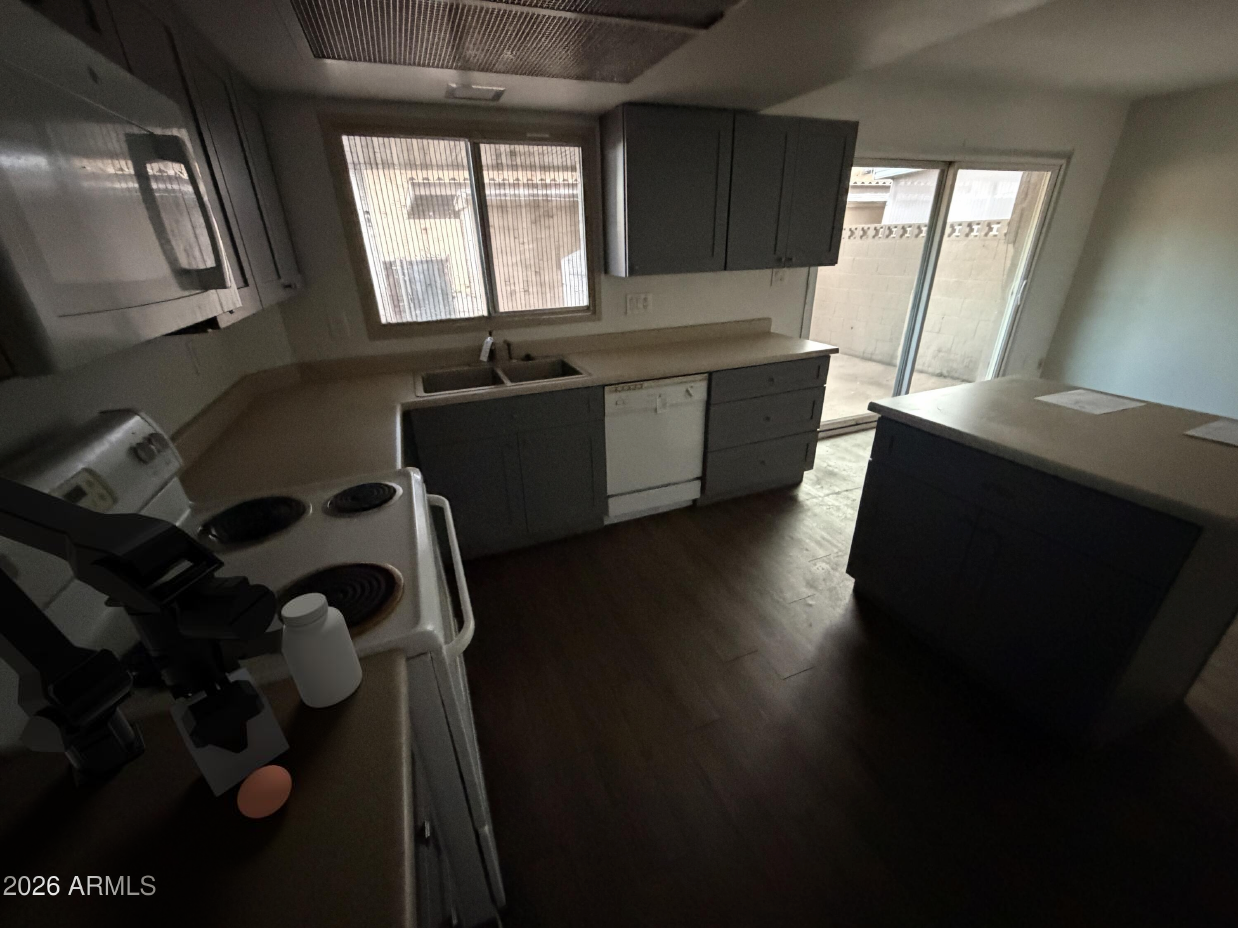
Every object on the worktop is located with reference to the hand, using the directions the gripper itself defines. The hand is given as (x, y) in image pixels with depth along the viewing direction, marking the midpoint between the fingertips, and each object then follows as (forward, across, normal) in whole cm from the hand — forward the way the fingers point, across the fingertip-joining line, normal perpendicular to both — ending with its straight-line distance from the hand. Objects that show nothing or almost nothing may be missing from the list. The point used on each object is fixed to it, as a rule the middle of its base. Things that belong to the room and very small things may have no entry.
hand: (231, 731), depth 60 cm
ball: (+3, -9, 0) cm, 9 cm away
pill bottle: (+6, +3, -12) cm, 14 cm away
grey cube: (+4, 0, 0) cm, 4 cm away
